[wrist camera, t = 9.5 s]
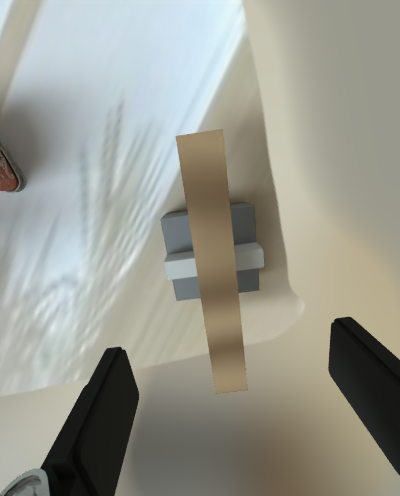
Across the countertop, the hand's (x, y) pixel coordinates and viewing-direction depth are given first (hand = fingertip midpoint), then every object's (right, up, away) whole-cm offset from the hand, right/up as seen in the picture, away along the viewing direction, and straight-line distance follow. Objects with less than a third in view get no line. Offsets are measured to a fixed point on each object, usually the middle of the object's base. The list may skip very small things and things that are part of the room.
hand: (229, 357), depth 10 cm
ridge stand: (0, +5, +18) cm, 19 cm away
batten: (0, +3, +12) cm, 12 cm away
